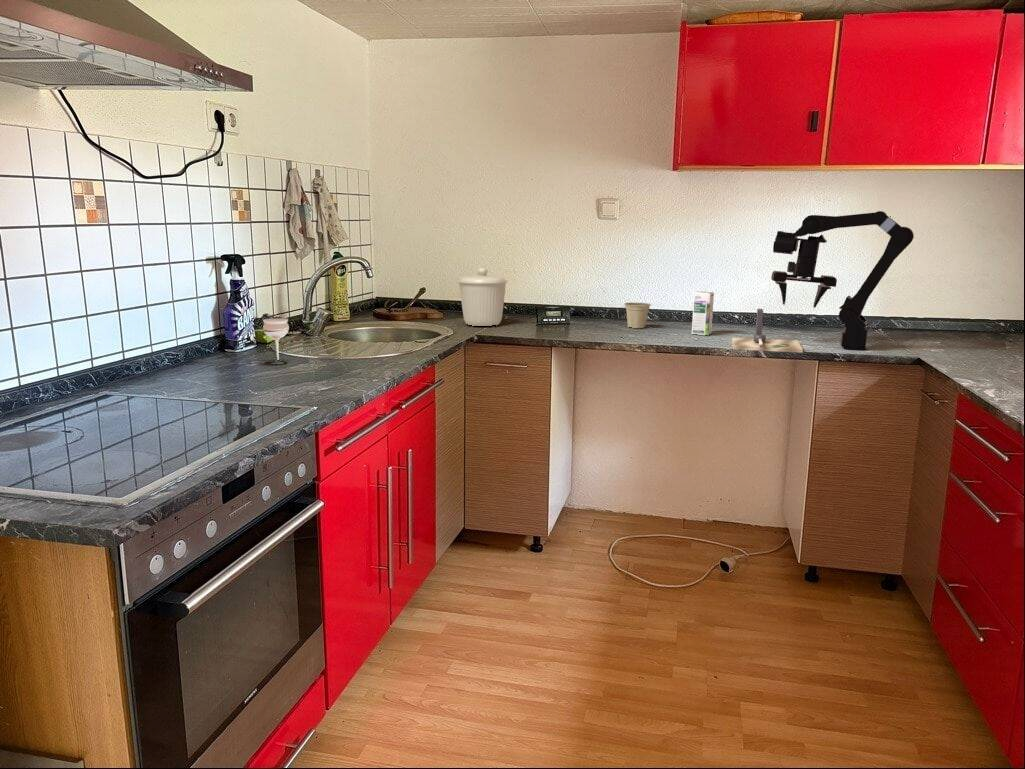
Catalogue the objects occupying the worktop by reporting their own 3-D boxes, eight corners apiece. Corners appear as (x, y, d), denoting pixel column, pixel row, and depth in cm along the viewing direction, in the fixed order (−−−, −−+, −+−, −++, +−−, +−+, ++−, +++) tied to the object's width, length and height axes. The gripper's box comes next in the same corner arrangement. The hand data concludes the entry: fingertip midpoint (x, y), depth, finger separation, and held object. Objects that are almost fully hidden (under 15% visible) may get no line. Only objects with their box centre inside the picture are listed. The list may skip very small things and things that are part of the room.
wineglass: (285, 366, 207) (282, 321, 204) (261, 365, 208) (258, 321, 205) (295, 361, 214) (292, 318, 211) (271, 360, 214) (269, 317, 212)
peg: (763, 336, 251) (765, 308, 249) (767, 346, 231) (769, 317, 230) (752, 336, 252) (754, 308, 250) (754, 346, 232) (756, 316, 230)
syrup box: (690, 334, 263) (693, 292, 259) (695, 332, 268) (697, 290, 265) (707, 336, 260) (710, 293, 257) (711, 333, 265) (714, 291, 262)
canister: (515, 323, 287) (515, 266, 282) (494, 330, 271) (494, 269, 266) (472, 320, 294) (471, 265, 289) (449, 327, 278) (448, 268, 273)
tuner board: (797, 343, 246) (797, 339, 246) (802, 352, 230) (802, 348, 230) (732, 340, 251) (732, 336, 251) (733, 349, 235) (733, 345, 235)
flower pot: (650, 326, 282) (651, 302, 280) (649, 330, 273) (650, 305, 271) (624, 325, 284) (625, 302, 282) (622, 329, 275) (623, 305, 273)
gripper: (833, 257, 245) (825, 305, 249) (773, 251, 248) (765, 299, 252) (841, 259, 234) (831, 310, 238) (777, 254, 237) (769, 304, 241)
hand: (798, 306), depth 243 cm, fingers open, 9 cm apart
